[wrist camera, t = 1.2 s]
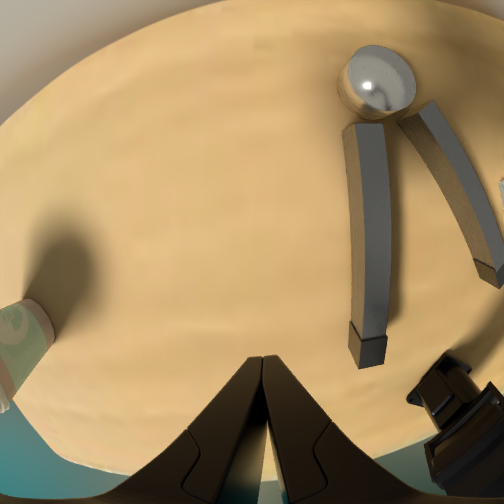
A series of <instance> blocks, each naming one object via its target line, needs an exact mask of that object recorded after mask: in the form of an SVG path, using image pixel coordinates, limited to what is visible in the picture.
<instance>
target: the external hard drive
mask: <svg viewBox="0 0 504 504" xmlns="http://www.w3.org/2000/svg"><path fill="white" fill-rule="evenodd" d="M499 186H500V191H501V196H502V202H503V208H504V179H503V180H502V181H500V182H499Z"/></svg>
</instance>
